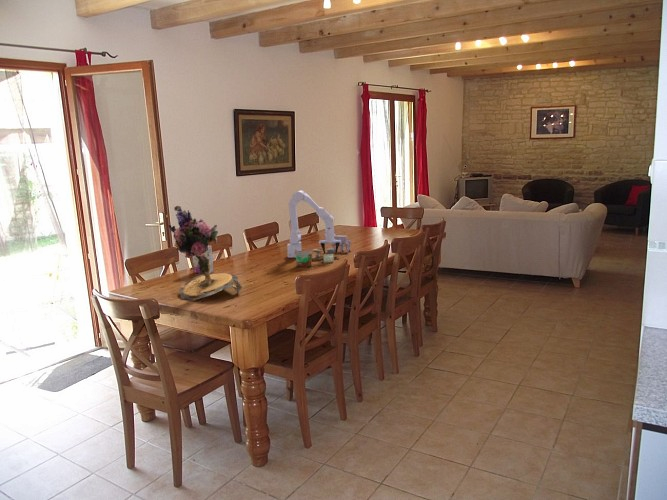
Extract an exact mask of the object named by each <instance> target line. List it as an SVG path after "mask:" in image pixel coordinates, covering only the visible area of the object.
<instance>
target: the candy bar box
mask: <svg viewBox="0 0 667 500" xmlns="http://www.w3.org/2000/svg"><path fill="white" fill-rule="evenodd" d="M212 248H213V247H212V245H208V248H207V251H206V253H205V254H203V256H204V257H206V258H207V259H208V260H209V262H210V274H213V273H214V272H215V271H214V263H213V261H214V260H213V249H212ZM191 258H192V267H193V273H194V274H201V272H200V267H199V266H200V265H199V264H198V261H199V259H198V258H197V257H196V256H192V257H191Z"/></svg>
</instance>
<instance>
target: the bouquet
mask: <svg viewBox="0 0 667 500" xmlns="http://www.w3.org/2000/svg"><path fill="white" fill-rule="evenodd" d="M173 210H174V211H175V212H176V213H175V216H176V219H177V223H178V226H179V227H177V228H176V226H175V225H173V226H172V225H171V224H168V229H170V232H172V233H173V239H174V244H173V245H174V247H175V248H176V250H177V251H179V252H180V253H182V254H185V255H184V257H185V258H187V259H190V258H192V256H196V257H197V258H198V259H199V261H198V264H199V265H200V266H199V267H200V272H201V273H200V275H197V276H195V277H193V278H191V279H189V280H187V282H186V283H184V284H182V286H181V287H180V288H179V293H178V294H180V298H182V299H181V300H186V299H187V301H189V300H190V302H193V301H196V300H200V299H203V298H206V297H209V296H212V295H215V294H217V293H218V292H221V291H223V290H227V289H229V288H231V287H232V288H233V289H234V290H235V291H236V294H239V292H240V291H241V290H242V289H243V286H242V285H241V284H240V282H239V278H238V276H237V275H235V274H230V273H210V262H209V260H208V259H207V258H206V257H204V256H203V254H205V253H206V251H207V248H208V246H209V244H210V243H211V242H213V243H214V244H217V243H218V233H219V231H218V230H217V227H218V226H217V224H214V226H213V227H210V226H208V225H207V223H206V221H204V220H203V219H201V218H200V220H199V221H198V220H197V218H194V219H193V217H192V213H191V211H190V210H187V211H186V210H183V209H182V207H181V206H180V205H176V206H174V207H173Z"/></svg>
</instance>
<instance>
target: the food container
mask: <svg viewBox="0 0 667 500" xmlns="http://www.w3.org/2000/svg"><path fill="white" fill-rule="evenodd" d="M313 253H314V252H313V249H312V250H302V251H297V250H296V249H295V252H294V254H295V255H296V257H295V261H296V266H297V267H298V268H309V267H312V260H313V259H312V257H313V256H312V255H313Z"/></svg>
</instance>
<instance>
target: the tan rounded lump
mask: <svg viewBox="0 0 667 500" xmlns="http://www.w3.org/2000/svg"><path fill="white" fill-rule="evenodd" d="M312 252H313V253H314V255H315V256H312V260H315V261H321V260H324V255H322V254H321V253H324V251H323V249H322V248H315V249H314V248H313V249H312Z"/></svg>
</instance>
